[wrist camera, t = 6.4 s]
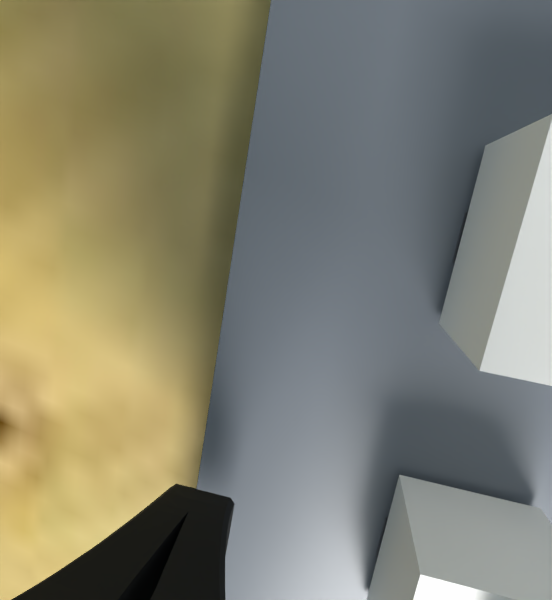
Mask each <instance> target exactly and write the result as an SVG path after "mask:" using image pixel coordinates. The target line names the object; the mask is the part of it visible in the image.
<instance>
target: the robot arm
mask: <svg viewBox="0 0 552 600" xmlns="http://www.w3.org/2000/svg"><path fill="white" fill-rule="evenodd" d="M234 505H235V504H234V502H233V501H232V499H231V498H230V497H226V496H222V495H218V494H214V493H210V492H206V491H202V490H198V489H194V488H191V487H187V486H183V485H179V484H175V485H174V486H172V487H171V488H169V489H168V490H167V491H166V492H164V493H163V494H162V495H161V496H160V497H158V498H157V499H156V500H155V501H154V502H152V503H151V504H150V505H149V506H147V507H146V508H145V509H144V510H142V511H141V512H140V513H139V514H137V515H136V516H135V517H134V518H132V519H131V520H130V521H128V522H127V523H126V524H124V525H123V526H122V527H120V528H119V529H118V530H116V531H115V532H114V533H112V534H111V535H110V536H108V537H107V538H106V539H104V540H103V541H102V542H100V543H99V544H97V545H96V546H95V547H93V548H92V549H90V550H89V551H87V552H86V553H84V554H83V555H81V556H80V557H78V558H77V559H76V560H74V561H73V562H71V563H70V564H68V565H67V566H65V567H64V568H62V569H61V570H59V571H58V572H56V573H55V574H53V575H52V576H50V577H48V578H47V579H45V580H44V581H42V582H40V583H39V584H37V585H35V586H34V587H32V588H30V589H29V590H27V591H25V592H24V593H22V594H20V595H19V596H17V597H15V598H13V599H12V600H226V597H225V556H226V550H227V545H228V539H229V533H230V528H231V522H232V516H233V510H234Z"/></svg>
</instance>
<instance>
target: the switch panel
mask: <svg viewBox="0 0 552 600" xmlns="http://www.w3.org/2000/svg"><path fill="white" fill-rule="evenodd" d="M551 114H552V0H271V4H270V11H269V17H268V24H267V31H266V37H265V44H264V50H263V57H262V63H261V70H260V76H259V83H258V90H257V96H256V103H255V109H254V116H253V122H252V129H251V135H250V142H249V149H248V155H247V162H246V168H245V175H244V181H243V188H242V194H241V201H240V208H239V214H238V221H237V227H236V234H235V240H234V247H233V253H232V260H231V267H230V273H229V280H228V286H227V293H226V299H225V306H224V312H223V319H222V326H221V332H220V339H219V345H218V352H217V358H216V365H215V371H214V378H213V385H212V391H211V398H210V404H209V411H208V417H207V424H206V430H205V437H204V443H203V450H202V457H201V463H200V470H199V476H198V483H197V489H198V490H202V491H206V492H210V493H214V494H218V495H222V496H226V497H230V498H231V499H232V501H233V502H234V504H235V505H234V510H233V516H232V522H231V528H230V533H229V539H228V545H227V550H226V556H225V597H226V600H367V596H368V592H369V588H370V585H371V581H372V577H373V573H374V569H375V565H376V562H377V558H378V554H379V550H380V546H381V543H382V539H383V535H384V531H385V527H386V523H387V520H388V516H389V512H390V508H391V504H392V501H393V497H394V493H395V489H396V485H397V481H398V478H399V475H403V476H407V477H412V478H416V479H420V480H424V481H428V482H432V483H437V484H441V485H445V486H449V487H453V488H458V489H462V490H466V491H470V492H474V493H479V494H483V495H487V496H491V497H495V498H499V499H504V500H508V501H512V502H516V503H520V504H525V505H529V506H533V507H537V508H541V509H542V511H543V512H544V514H545V515H546V517H547V518H548V520H549V521H550V523H551V524H552V386H549V385H545V384H540V383H535V382H530V381H526V380H521V379H516V378H511V377H506V376H502V375H497V374H492V373H487V372H483V371H479V370H478V369H477V367H476V366H475V365H474V364H473V363H472V362H471V360H470V359H469V358H468V357H467V356H466V355H465V353H464V352H463V351H462V350H461V349H460V348H459V346H458V345H457V344H456V343H455V342H454V341H453V339H452V338H451V337H450V336H449V335H448V334H447V332H446V331H445V330H444V329H443V328H442V327H441V325H440V324H439V321H440V317H441V313H442V310H443V306H444V302H445V298H446V294H447V291H448V287H449V283H450V279H451V275H452V271H453V268H454V264H455V260H456V256H457V252H458V249H459V245H460V241H461V237H462V233H463V229H464V226H465V222H466V218H467V214H468V210H469V207H470V203H471V199H472V195H473V191H474V187H475V184H476V180H477V176H478V172H479V168H480V165H481V161H482V157H483V153H484V149H485V145H488V144H490V143H492V142H494V141H496V140H498V139H500V138H502V137H504V136H507V135H509V134H511V133H513V132H515V131H517V130H519V129H521V128H523V127H525V126H528V125H530V124H532V123H534V122H536V121H538V120H540V119H542V118H544V117H547V116H549V115H551Z"/></svg>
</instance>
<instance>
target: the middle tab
mask: <svg viewBox="0 0 552 600" xmlns="http://www.w3.org/2000/svg"><path fill="white" fill-rule="evenodd" d="M439 324H440V325H441V327H442V328H443V329H444V330H445V331H446V332H447V334H448V335H449V336H450V337H451V338H452V339H453V341H454V342H455V343H456V344H457V345H458V346H459V348H460V349H461V350H462V351H463V352H464V353H465V355H466V356H467V357H468V358H469V359H470V360H471V362H472V363H473V364H474V365H475V366H476V367H477V369H478V370H479V371H483V372H487V373H492V374H497V375H502V376H506V377H511V378H516V379H521V380H526V381H530V382H535V383H540V384H545V385H549V386H552V114H551V115H549V116H547V117H544V118H542V119H540V120H538V121H536V122H534V123H532V124H530V125H528V126H525V127H523V128H521V129H519V130H517V131H515V132H513V133H511V134H509V135H507V136H504V137H502V138H500V139H498V140H496V141H494V142H492V143H490V144H488V145H485V149H484V153H483V157H482V161H481V165H480V168H479V172H478V176H477V180H476V184H475V187H474V191H473V195H472V199H471V203H470V207H469V210H468V214H467V218H466V222H465V226H464V229H463V233H462V237H461V241H460V245H459V249H458V252H457V256H456V260H455V264H454V268H453V271H452V275H451V279H450V283H449V287H448V291H447V294H446V298H445V302H444V306H443V310H442V313H441V317H440V321H439Z"/></svg>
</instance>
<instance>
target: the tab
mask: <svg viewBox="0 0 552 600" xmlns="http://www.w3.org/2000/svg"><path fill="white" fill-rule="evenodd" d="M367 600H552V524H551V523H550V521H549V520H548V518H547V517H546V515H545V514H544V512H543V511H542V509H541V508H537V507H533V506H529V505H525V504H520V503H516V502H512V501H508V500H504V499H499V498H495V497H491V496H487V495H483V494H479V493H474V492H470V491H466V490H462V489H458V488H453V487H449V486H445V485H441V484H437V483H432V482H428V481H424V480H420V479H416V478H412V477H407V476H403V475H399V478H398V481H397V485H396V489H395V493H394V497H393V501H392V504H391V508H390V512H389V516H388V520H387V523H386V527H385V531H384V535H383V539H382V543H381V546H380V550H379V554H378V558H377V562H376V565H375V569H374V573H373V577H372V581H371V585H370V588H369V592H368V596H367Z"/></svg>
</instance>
